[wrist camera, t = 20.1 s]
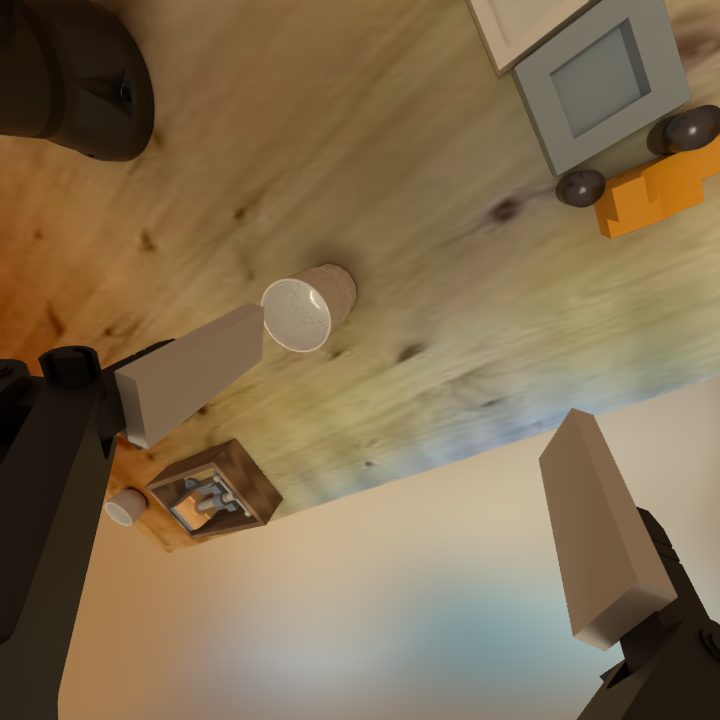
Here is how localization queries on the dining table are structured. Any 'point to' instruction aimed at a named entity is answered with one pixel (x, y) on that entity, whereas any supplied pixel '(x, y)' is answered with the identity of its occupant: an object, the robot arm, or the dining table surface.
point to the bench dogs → (663, 139)
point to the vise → (205, 501)
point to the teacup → (126, 507)
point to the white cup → (308, 306)
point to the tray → (521, 26)
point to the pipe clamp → (656, 189)
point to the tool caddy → (236, 474)
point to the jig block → (601, 80)
